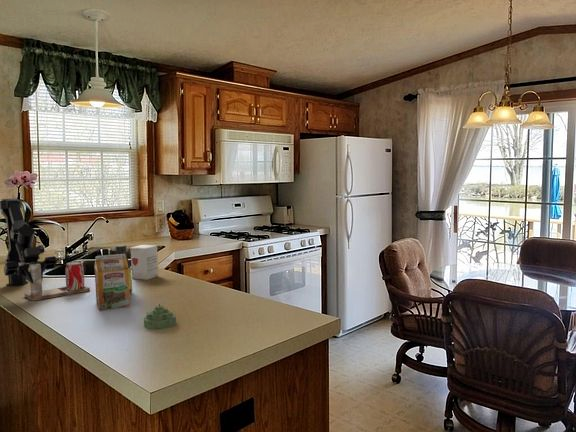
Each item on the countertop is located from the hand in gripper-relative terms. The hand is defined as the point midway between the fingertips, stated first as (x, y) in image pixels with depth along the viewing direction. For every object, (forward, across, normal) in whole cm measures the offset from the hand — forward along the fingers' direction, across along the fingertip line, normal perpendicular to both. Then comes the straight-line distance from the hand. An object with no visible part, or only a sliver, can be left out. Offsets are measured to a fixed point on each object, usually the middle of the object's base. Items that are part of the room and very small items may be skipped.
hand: (37, 282), depth 189 cm
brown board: (+4, +8, +5) cm, 10 cm away
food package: (+28, +16, -18) cm, 37 cm away
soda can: (+4, +15, +5) cm, 16 cm away
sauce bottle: (+18, +27, -8) cm, 34 cm away
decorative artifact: (+52, +16, -42) cm, 69 cm away
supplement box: (+3, +48, +7) cm, 49 cm away
